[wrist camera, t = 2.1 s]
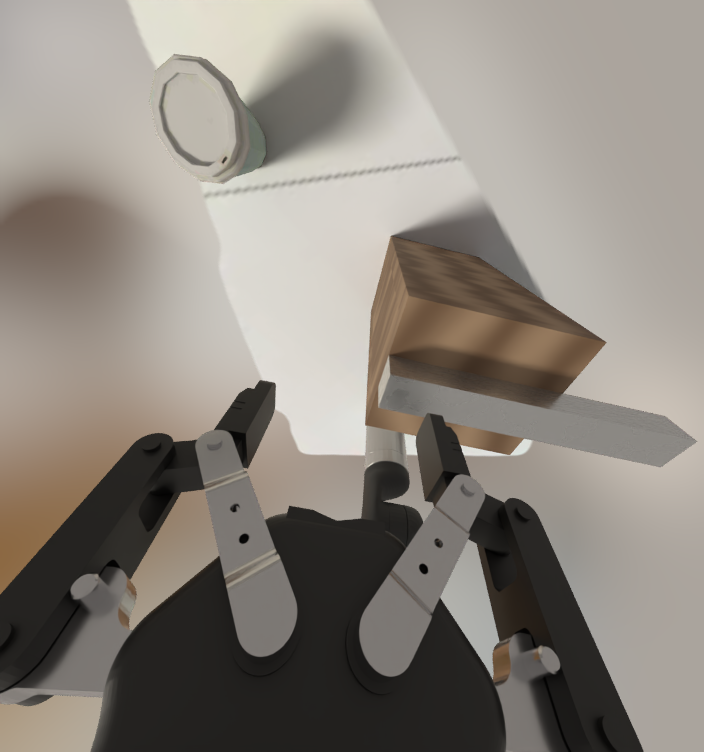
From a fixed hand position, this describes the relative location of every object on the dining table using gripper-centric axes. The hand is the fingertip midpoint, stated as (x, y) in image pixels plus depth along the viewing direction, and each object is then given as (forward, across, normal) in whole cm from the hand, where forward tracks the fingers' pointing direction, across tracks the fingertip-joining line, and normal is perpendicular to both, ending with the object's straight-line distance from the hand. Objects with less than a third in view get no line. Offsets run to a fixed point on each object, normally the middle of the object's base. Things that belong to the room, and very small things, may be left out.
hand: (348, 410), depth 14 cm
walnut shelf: (+42, -11, +3) cm, 43 cm away
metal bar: (+10, -16, +4) cm, 19 cm away
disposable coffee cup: (+42, +22, -12) cm, 49 cm away
